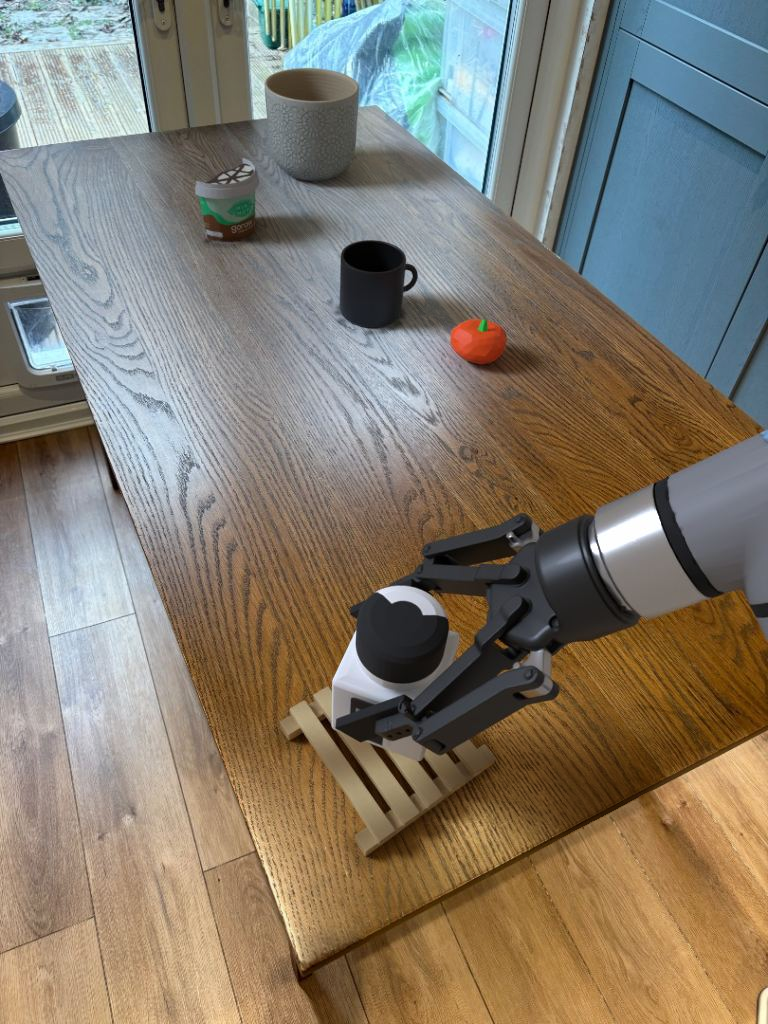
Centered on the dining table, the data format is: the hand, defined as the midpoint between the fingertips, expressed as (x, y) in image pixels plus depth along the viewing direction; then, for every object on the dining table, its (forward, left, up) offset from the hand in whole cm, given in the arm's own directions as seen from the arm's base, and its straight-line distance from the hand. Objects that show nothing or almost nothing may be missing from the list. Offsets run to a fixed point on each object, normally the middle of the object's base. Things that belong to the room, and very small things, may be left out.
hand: (355, 671), depth 58 cm
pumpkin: (+38, -47, -13) cm, 62 cm away
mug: (+55, -42, -13) cm, 71 cm away
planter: (+101, -59, -13) cm, 118 cm away
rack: (-2, -2, -12) cm, 13 cm away
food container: (+86, -35, -13) cm, 94 cm away
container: (-2, -2, -5) cm, 6 cm away
